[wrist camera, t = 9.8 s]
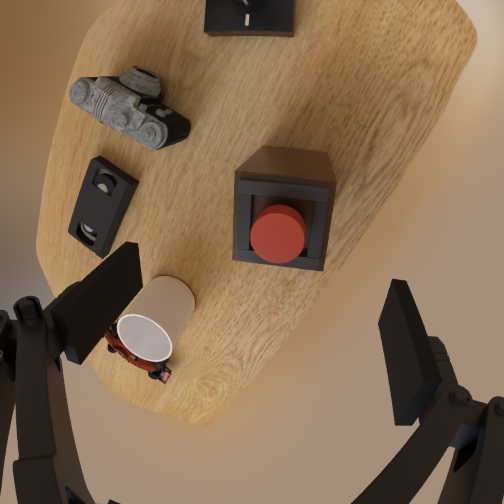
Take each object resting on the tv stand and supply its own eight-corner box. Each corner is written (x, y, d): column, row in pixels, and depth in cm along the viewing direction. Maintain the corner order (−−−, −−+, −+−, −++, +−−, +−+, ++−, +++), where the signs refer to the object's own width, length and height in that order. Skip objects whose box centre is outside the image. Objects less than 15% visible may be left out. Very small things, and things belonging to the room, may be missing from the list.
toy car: (104, 313, 56) (92, 326, 53) (179, 356, 57) (171, 372, 54) (99, 337, 60) (88, 350, 56) (168, 377, 61) (161, 392, 57)
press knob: (308, 207, 24) (307, 216, 23) (302, 254, 26) (301, 266, 24) (255, 201, 25) (251, 210, 23) (253, 248, 27) (248, 260, 25)
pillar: (327, 152, 37) (337, 183, 23) (320, 213, 41) (323, 276, 27) (262, 145, 38) (232, 172, 25) (258, 206, 42) (230, 264, 28)
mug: (136, 313, 55) (108, 352, 45) (157, 264, 49) (124, 303, 40) (178, 337, 55) (155, 381, 46) (205, 292, 50) (181, 337, 40)
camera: (209, 103, 37) (178, 105, 28) (182, 147, 40) (147, 161, 31) (123, 54, 35) (77, 49, 27) (102, 96, 38) (55, 101, 30)
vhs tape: (99, 154, 43) (91, 157, 41) (139, 181, 43) (132, 185, 42) (74, 227, 49) (67, 232, 47) (108, 253, 50) (102, 259, 48)
